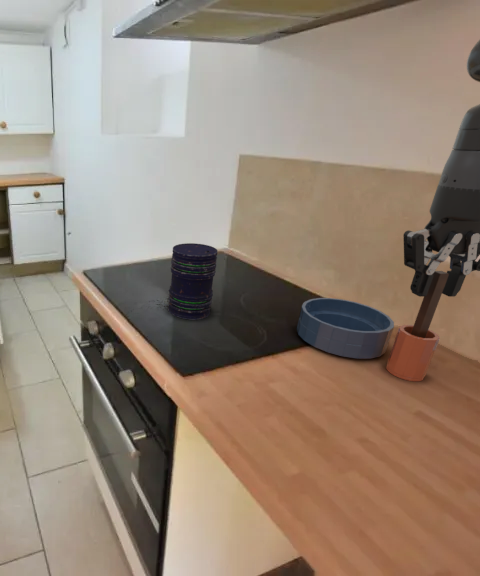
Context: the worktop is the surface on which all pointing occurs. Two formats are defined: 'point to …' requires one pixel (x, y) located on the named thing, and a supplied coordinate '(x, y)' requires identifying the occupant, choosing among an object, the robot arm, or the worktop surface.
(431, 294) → the stirring stick
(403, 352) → the utensil holder
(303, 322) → the bowl
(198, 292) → the storage jar
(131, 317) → the worktop surface
